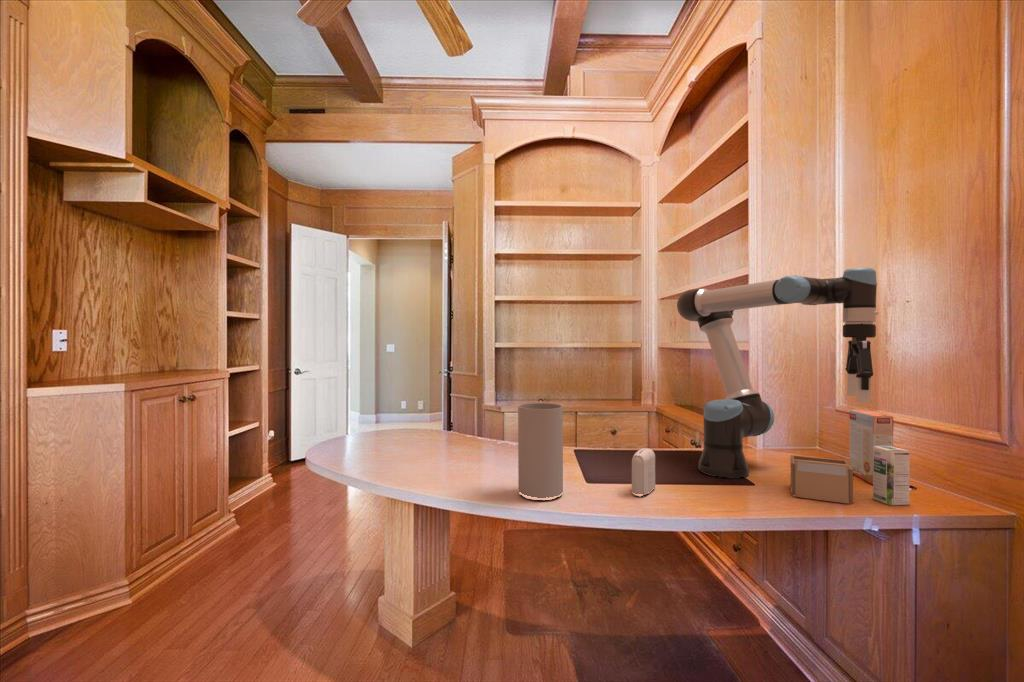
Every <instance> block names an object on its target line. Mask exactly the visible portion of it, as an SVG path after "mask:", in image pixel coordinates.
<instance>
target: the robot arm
mask: <svg viewBox="0 0 1024 682" xmlns="http://www.w3.org/2000/svg"><path fill="white" fill-rule="evenodd" d="M877 286H878V283H877V271H876V269H874V268H872V267H856V268H855V267H854V268H849V269H845V270H844V271H843V274H842V276H841V277H840V276H839V277H833V278H832V277H831V278H818V277H817V278H815V277H808V276H807V277H806V276H802V275H798V274H797V275H785V276H783V277H782V278H779V279H773V280H772V279H771V280H767V281H760V282H759V281H758V282H754V283H748V284H747V283H746V284H742V285H735V286H729V287H724V288H715V289H711V290H709V289H708V288H704V287H703V288H698V289H697V288H695V289H694V288H693V289H688V290H685V291H684V292H682V293H681V295H680V296H679V297H678V299H677V301H676V302H677V303H676V309H677V312H678V314H679V315H680V316H681V317H682V319H685V320H686V321H689V322H697V324H698V327H699V330H700V331H701V332H703V333H704V334H706V337H707V340H708V343H709V346H710V350H711V352H712V355H713V359H714V360H715V364H716V367H717V370H718V373H719V376H720V379H721V382H722V384H723V387H724V390H725V394H726V397H725V398H722V399H714V400H710V401H707V402H706V403H705V404H704V407H703V414H702V415H703V448H702V449H703V450H702V452H701V455H700V458H699V461H698V465H697V466H698V467H697V469H699V470H700V471H703V472H705V473H708V474H711V475H716V476H721V477H733V478H732V479H741V478H740V477H744V478H747V477H749V473H750V471H749V469H750V468H749V466H748V461H747V459H746V456H745V453H744V450H743V445H744V444H743V443H744V442H743V439H744V438H748V437H750V438H751V437H757V436H760V435H761V436H762V435H763V434H766V433H768V431H770V430H771V428H772V426H773V425H774V422H775V413H774V411H773V408H772V407H771V405H770V404H769V403H766V402H765V401H763V400H762V396H761V394H760V392H758V391H756V390H755V389H754V388H753V386H752V383H751V381H750V378H749V375H748V372H747V369H746V366H745V363H744V360H743V358H742V354H741V352H740V349H739V347H738V344H737V340H736V338H735V335H734V332H733V329H732V324H733V322H734V318H733V316H734V312H735V310H736V311H738V310H744V309H753V308H762V307H763V308H764V307H771V306H772V307H773V306H779V305H781V306H782V305H790V304H801V305H805V306H819V305H831V304H833V305H834V304H842V307H843V308H842V322H843V323H844V324H843V325H842V337H843V338H851V340H848V342H847V343H848V349H847V357H846V364H845V371H846V373H847V374H846V376H847V377H846V382H847V383H846V386H847V387H846V396H847V397H857V399H856V400H857V401H856V402H858V403H871V395H872V394H871V393H872V392H871V391H872V390H871V388H872V387H871V385H872V384H871V381H872V380H871V379H872V377H873V376H874V371H873V369H874V368H873V362H872V352H871V350H872V349H871V341H870V340H868V339H867V338H873V339H874V338H876V336H877V330H876V329H877V326H876V324H874V323H875V322H876V321H877V317H876V316H877V315H879V311H876V310H877V288H878V287H877ZM699 470H698V471H699ZM700 471H699V472H700ZM721 477H720V478H721Z"/></svg>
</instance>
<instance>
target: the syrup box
mask: <svg viewBox="0 0 1024 682" xmlns="http://www.w3.org/2000/svg"><path fill="white" fill-rule="evenodd" d="M910 454H911V453H910V450H907V449H903V448H899V447H894V446H893V447H892V446H874V447H873V485H872V499H873V500H876V501H878V502H881V503H882V504H886V505H888V506H909V505H910V480H911V479H910V466H911V465H910V460H911V459H910V456H911V455H910Z"/></svg>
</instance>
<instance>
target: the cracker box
mask: <svg viewBox="0 0 1024 682" xmlns="http://www.w3.org/2000/svg"><path fill="white" fill-rule="evenodd" d="M894 419H895V417H894V416H893V415H888V414H885V413H881V412H877V411H874V410H869V409H849V464H850V465H851V467H852V469H853V474H854V475H853V476H855V477H857V478H859V479H861V480H862V481H865V482H867V483H869V484H870V483H871V485H872V484H873V447H874V446H892V447H894V431H895V430H894V422H895V421H894Z"/></svg>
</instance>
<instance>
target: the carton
mask: <svg viewBox="0 0 1024 682" xmlns="http://www.w3.org/2000/svg"><path fill="white" fill-rule="evenodd" d="M795 459H799V460H809V461H819V462H829V463H839V464H848V466H849V504H854V475H853V469H852V467H851V465H850V461H848V460H844V459H835V458H834V459H833V458H828V459H826V458H825V457H817V458H816V456H806V455H805V456H804V455H794V454H790V490H791V491H792V492H791V496H792V495H795Z"/></svg>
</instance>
